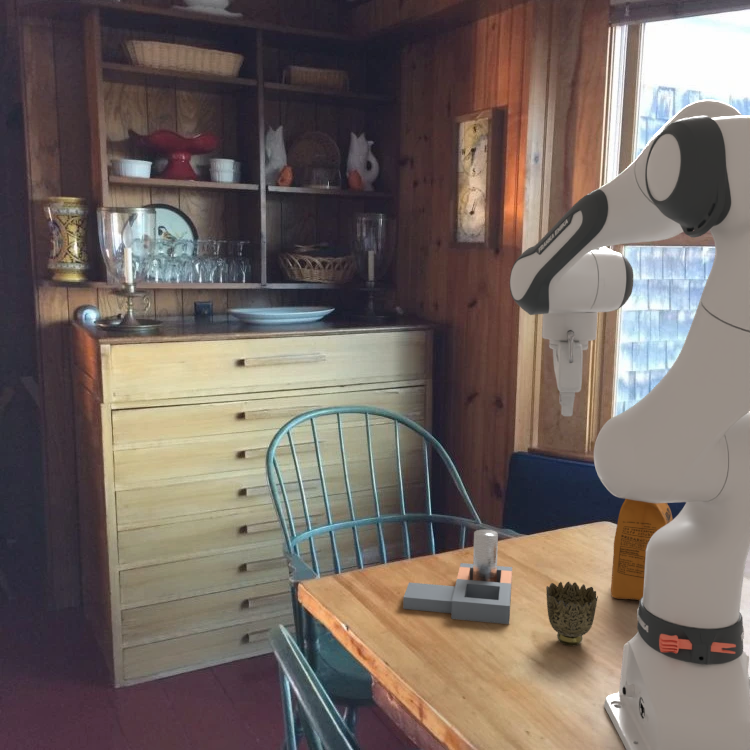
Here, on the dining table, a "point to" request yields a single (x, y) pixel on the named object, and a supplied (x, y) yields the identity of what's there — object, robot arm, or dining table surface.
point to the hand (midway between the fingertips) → (565, 410)
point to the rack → (465, 597)
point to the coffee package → (634, 545)
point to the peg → (485, 555)
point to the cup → (571, 611)
